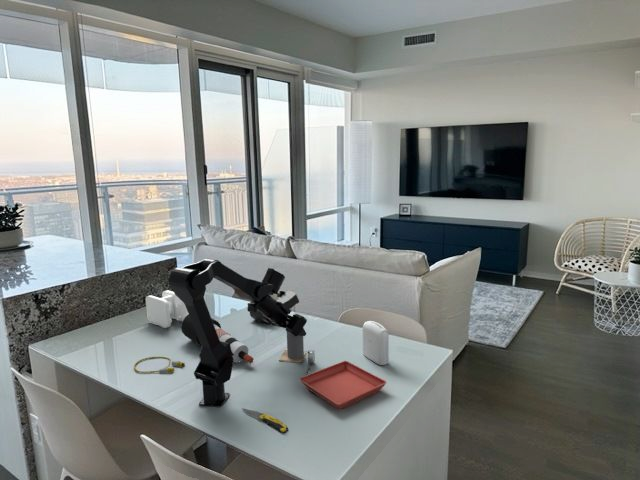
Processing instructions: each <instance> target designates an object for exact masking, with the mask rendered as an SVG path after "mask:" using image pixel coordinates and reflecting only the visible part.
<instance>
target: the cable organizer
mask: <svg viewBox="0 0 640 480" xmlns="http://www.w3.org/2000/svg"><path fill="white" fill-rule="evenodd" d="M161 296H162V297H158V296H154V295H147V296H146V297H145V306H146V315H147V316H146V317H147V320H148V321H149V323H151V324H152V325H155V326H159V327H161V328H163V329H168V328H170V327H171V325H172V324H173V319H174V320H177V321H178V322H183V320H184V318H185V317H186V316H187V315H188V311H187V309H186V306H185V304H184V303H183V302H182V301H181V300H180V299H179V298H178V297H177V296H176V295H175V294H174V292H173V290H172V291H171V290H168V289H167V290H164V291H162V293H161Z"/></svg>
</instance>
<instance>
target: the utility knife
mask: <svg viewBox="0 0 640 480" xmlns="http://www.w3.org/2000/svg"><path fill="white" fill-rule="evenodd" d="M242 410H243V412H244V413H246V414H247V415H249V416H250V417H253V418H255V419H257V420H258V421H259V422H263V423H265V424H266V425H268V426H270V427H271V428H273V429H275V430H277V431H278V432H280V434H286V433H287V432H288V431H289V427H288V426H287V425H286V424H284V423H283V421H281V420H280V419H278V418H277V417H276V418H275V417H273V416H271V415H269V414H267V413H263V412H259V411H256V410H252V409H248V408H242Z"/></svg>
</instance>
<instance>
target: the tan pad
mask: <svg viewBox="0 0 640 480" xmlns="http://www.w3.org/2000/svg"><path fill="white" fill-rule="evenodd" d="M306 352H307V353H308V351H306V350H304V356H303V358H300V359H290V358H288V353H287V349H285V350H284V351H283V352H282V353H281V356H280V357H279V359H278V362H283V361H290V362H289V363H299V362H302V363H303V362H304V359H305V356H306V355H307V353H306Z"/></svg>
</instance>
